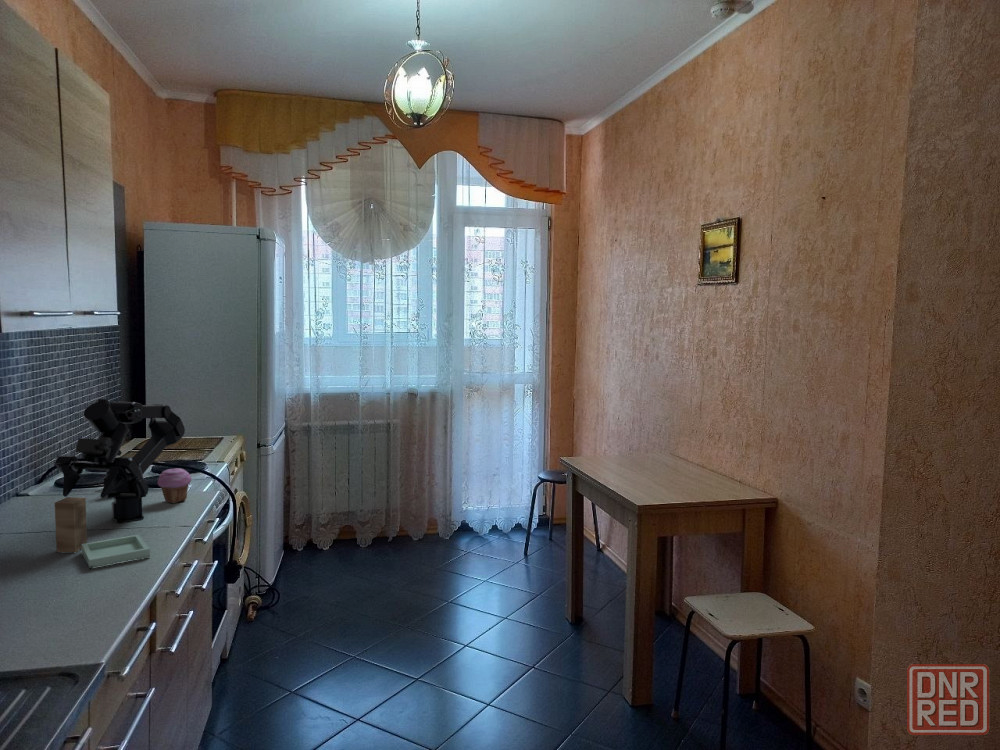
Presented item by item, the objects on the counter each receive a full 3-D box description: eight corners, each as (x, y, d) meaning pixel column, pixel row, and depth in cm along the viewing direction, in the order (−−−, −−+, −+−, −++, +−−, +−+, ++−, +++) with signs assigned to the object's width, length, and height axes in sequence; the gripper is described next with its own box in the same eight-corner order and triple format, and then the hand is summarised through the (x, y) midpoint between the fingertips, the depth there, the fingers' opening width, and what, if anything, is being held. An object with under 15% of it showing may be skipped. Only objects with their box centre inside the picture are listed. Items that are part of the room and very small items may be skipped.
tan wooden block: (69, 545, 160) (67, 497, 159) (87, 546, 160) (85, 497, 159) (56, 552, 155) (54, 502, 154) (75, 553, 155) (73, 503, 154)
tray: (139, 542, 163) (138, 534, 163) (149, 558, 154) (149, 548, 154) (81, 553, 155) (81, 544, 155) (89, 569, 146) (89, 560, 146)
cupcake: (171, 507, 192) (170, 473, 190) (151, 502, 195) (150, 469, 194) (197, 499, 199) (197, 467, 198) (178, 495, 203) (177, 463, 202)
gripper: (57, 423, 165) (27, 478, 155) (131, 426, 165) (106, 480, 155) (79, 448, 174) (51, 501, 164) (149, 450, 173) (126, 504, 163)
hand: (83, 496), depth 161 cm, fingers open, 9 cm apart
